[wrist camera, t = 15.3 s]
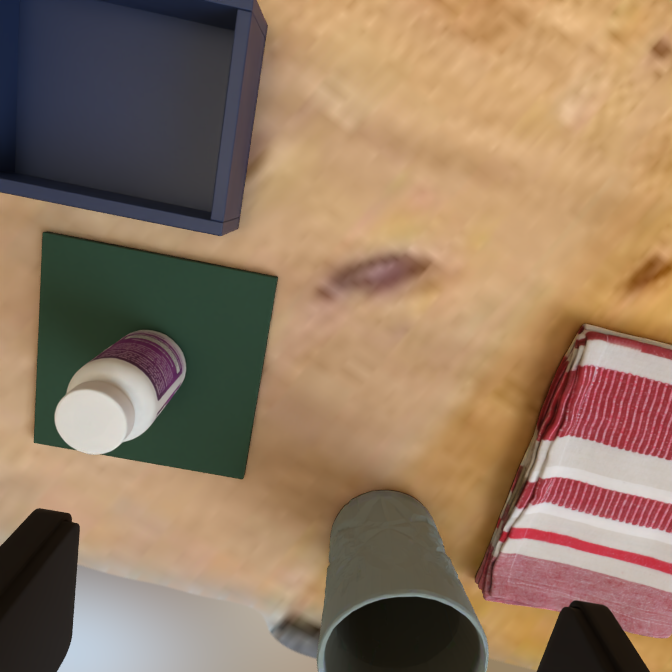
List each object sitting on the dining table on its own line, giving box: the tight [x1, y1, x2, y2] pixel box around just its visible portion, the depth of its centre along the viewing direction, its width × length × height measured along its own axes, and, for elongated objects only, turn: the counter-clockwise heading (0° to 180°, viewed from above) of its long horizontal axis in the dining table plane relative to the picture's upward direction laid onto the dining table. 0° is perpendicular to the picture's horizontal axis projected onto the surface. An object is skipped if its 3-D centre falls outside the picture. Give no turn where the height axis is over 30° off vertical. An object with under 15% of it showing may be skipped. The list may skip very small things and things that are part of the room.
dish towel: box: [475, 324, 672, 638], centre depth 40 cm, size 17×23×3 cm
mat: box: [34, 232, 278, 479], centre depth 38 cm, size 16×16×1 cm
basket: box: [0, 0, 268, 236], centre depth 31 cm, size 13×16×5 cm
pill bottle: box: [54, 330, 186, 455], centre depth 33 cm, size 5×5×10 cm
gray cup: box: [317, 490, 488, 672], centre depth 37 cm, size 10×10×12 cm
